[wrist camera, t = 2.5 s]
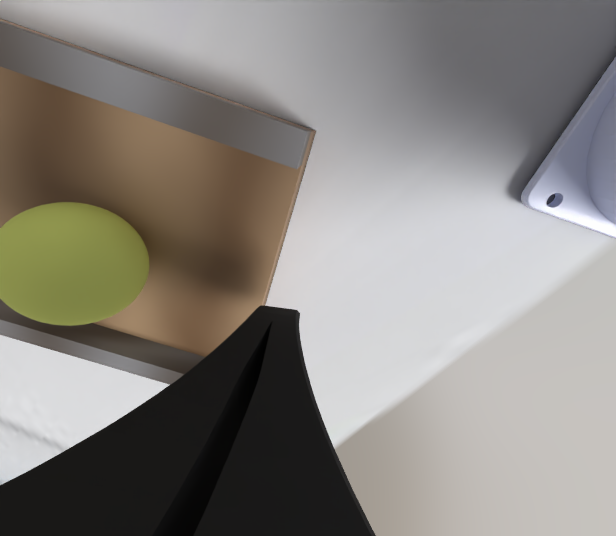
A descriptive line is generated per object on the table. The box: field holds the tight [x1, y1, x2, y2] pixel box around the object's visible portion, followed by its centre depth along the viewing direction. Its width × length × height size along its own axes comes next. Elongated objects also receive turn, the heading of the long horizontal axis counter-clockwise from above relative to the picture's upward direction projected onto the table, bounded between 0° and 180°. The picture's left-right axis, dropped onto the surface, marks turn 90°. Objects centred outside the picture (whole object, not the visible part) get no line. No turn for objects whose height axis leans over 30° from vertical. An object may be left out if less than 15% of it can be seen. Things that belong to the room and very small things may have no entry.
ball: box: [0, 202, 149, 326], centre depth 9 cm, size 4×4×4 cm
